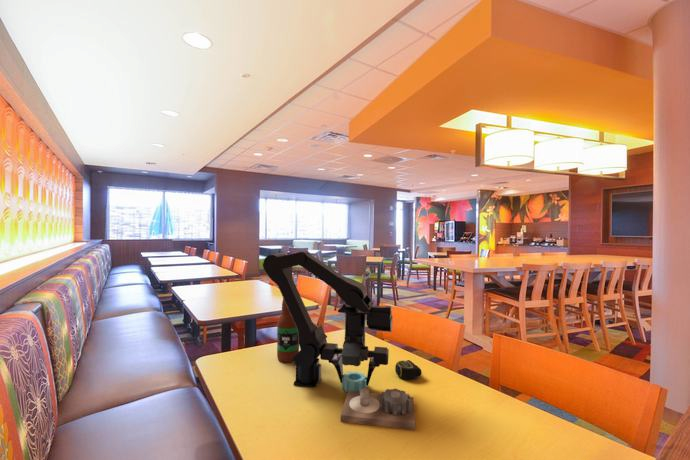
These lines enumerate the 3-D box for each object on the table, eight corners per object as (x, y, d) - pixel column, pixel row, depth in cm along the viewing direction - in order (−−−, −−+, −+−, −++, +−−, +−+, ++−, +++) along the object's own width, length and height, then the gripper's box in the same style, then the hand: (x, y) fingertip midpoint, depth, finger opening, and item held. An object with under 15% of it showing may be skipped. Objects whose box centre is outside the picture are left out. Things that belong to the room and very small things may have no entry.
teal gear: (340, 392, 87) (340, 381, 87) (344, 380, 94) (344, 370, 94) (365, 394, 86) (365, 383, 86) (368, 382, 93) (368, 372, 93)
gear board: (340, 421, 75) (340, 400, 75) (348, 396, 86) (348, 377, 85) (415, 430, 72) (415, 408, 72) (413, 403, 83) (413, 383, 83)
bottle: (273, 361, 107) (273, 286, 106) (282, 353, 114) (282, 282, 113) (294, 364, 105) (294, 288, 105) (301, 355, 112) (302, 284, 112)
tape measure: (422, 380, 96) (422, 367, 95) (401, 383, 93) (402, 370, 93) (410, 369, 102) (411, 358, 102) (391, 372, 100) (391, 360, 100)
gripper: (315, 336, 84) (314, 395, 84) (387, 341, 80) (386, 402, 81) (325, 323, 95) (324, 375, 95) (389, 327, 91) (388, 381, 92)
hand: (354, 383), depth 90 cm, fingers closed on teal gear, 7 cm apart
